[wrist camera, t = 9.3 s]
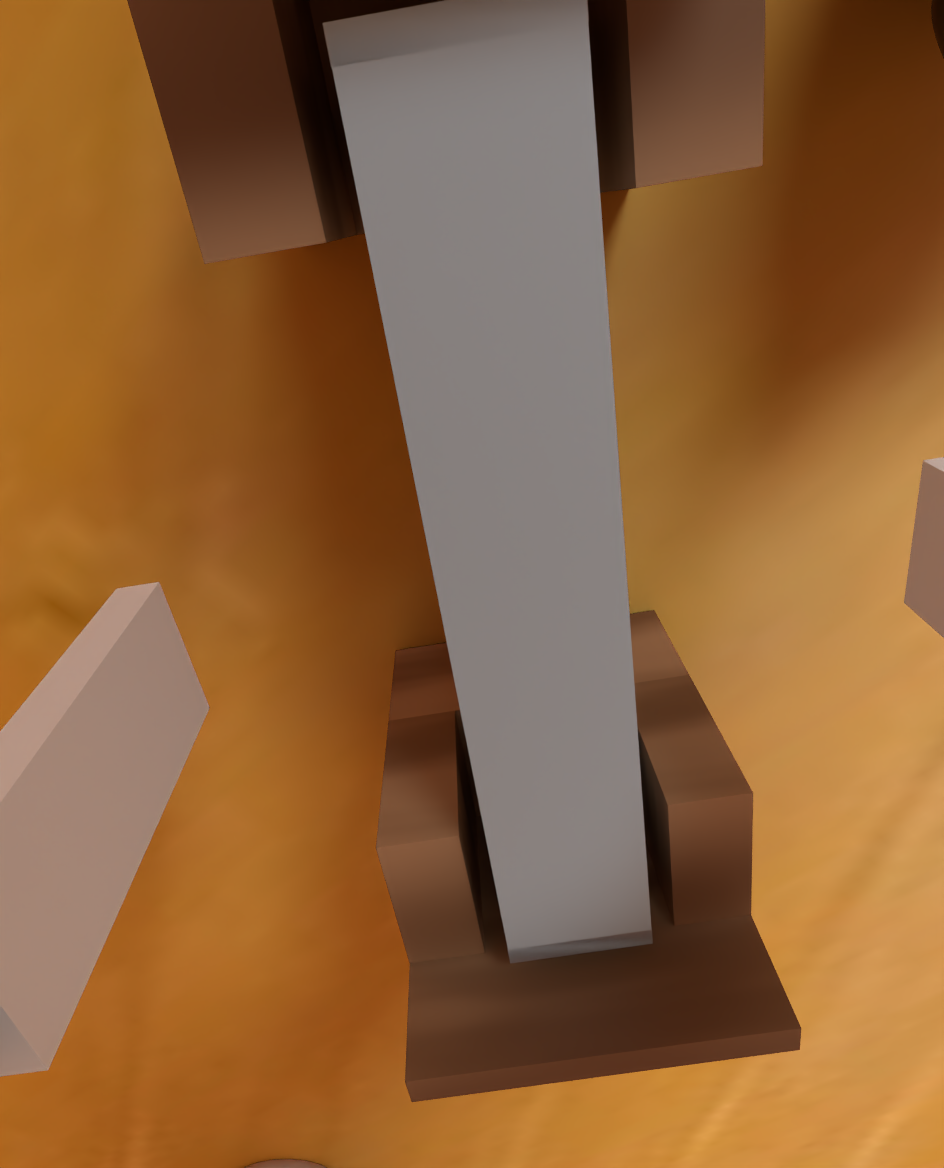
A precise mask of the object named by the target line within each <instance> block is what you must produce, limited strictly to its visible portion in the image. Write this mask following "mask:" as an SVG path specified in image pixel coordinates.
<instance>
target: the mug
mask: <svg viewBox="0 0 944 1168" xmlns="http://www.w3.org/2000/svg"><path fill="white" fill-rule="evenodd" d="M931 14H932V23H933V28H934V32H935V36H936V39H937V42H938V45H939V48H940V50H941V53H942V55H943V58H944V0H932V7H931Z"/></svg>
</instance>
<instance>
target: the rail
mask: <svg viewBox="0 0 944 1168" xmlns="http://www.w3.org/2000/svg"><path fill="white" fill-rule="evenodd" d="M588 21H589V15H588V1H587V0H444V1H439V2H434V3H428V4H423V5H417V6H412V7H406V8H401V9H396V10H390V11H385V12H379V13H374V14H368V15H363V16H358V17H352V18H347V19H341V20H336V21H331V22H325V23H322V24H323V29H324V34H325V39H326V44H327V49H328V54H329V59H330V64H331V68H332V71H333V76H334V81H335V86H336V91H337V96H338V101H339V106H340V111H341V116H342V121H343V126H344V131H345V136H346V141H347V146H348V151H349V156H350V161H351V166H352V171H353V176H354V181H355V186H356V191H357V196H358V201H359V206H360V211H361V216H362V221H363V226H364V231H365V236H366V241H367V246H368V251H369V256H370V261H371V266H372V271H373V276H374V281H375V286H376V291H377V296H378V301H379V306H380V311H381V316H382V321H383V326H384V331H385V336H386V341H387V346H388V351H389V356H390V361H391V366H392V371H393V376H394V381H395V386H396V391H397V396H398V401H399V406H400V411H401V416H402V421H403V426H404V431H405V436H406V441H407V446H408V451H409V456H410V461H411V466H412V471H413V476H414V481H415V486H416V491H417V496H418V501H419V506H420V511H421V516H422V521H423V526H424V531H425V536H426V541H427V546H428V551H429V556H430V561H431V566H432V571H433V576H434V581H435V586H436V591H437V596H438V601H439V607H440V612H441V617H442V622H443V627H444V632H445V637H446V642H447V647H448V652H449V657H450V662H451V667H452V672H453V677H454V682H455V687H456V692H457V697H458V702H459V707H460V712H461V717H462V722H463V727H464V732H465V737H466V742H467V747H468V752H469V757H470V762H471V767H472V772H473V777H474V782H475V787H476V792H477V797H478V802H479V807H480V812H481V817H482V822H483V827H484V832H485V837H486V842H487V847H488V852H489V857H490V862H491V867H492V872H493V877H494V882H495V887H496V892H497V897H498V902H499V907H500V912H501V917H502V922H503V927H504V932H505V937H506V942H507V948H508V954H509V959H510V963H517V962H524V961H532V960H539V959H546V958H553V957H560V956H567V955H575V954H582V953H589V952H596V951H603V950H610V949H618V948H625V947H632V946H639V945H646V944H653V937H652V928H651V915H650V900H649V886H648V872H647V857H646V843H645V829H644V814H643V800H642V786H641V771H640V757H639V743H638V728H637V714H636V700H635V685H634V671H633V657H632V642H631V628H630V614H629V599H628V585H627V571H626V556H625V542H624V528H623V513H622V499H621V485H620V470H619V456H618V442H617V427H616V413H615V399H614V384H613V370H612V356H611V342H610V327H609V313H608V299H607V284H606V270H605V256H604V241H603V227H602V213H601V198H600V184H599V170H598V155H597V141H596V127H595V112H594V98H593V84H592V69H591V55H590V41H589V26H588Z"/></svg>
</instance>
